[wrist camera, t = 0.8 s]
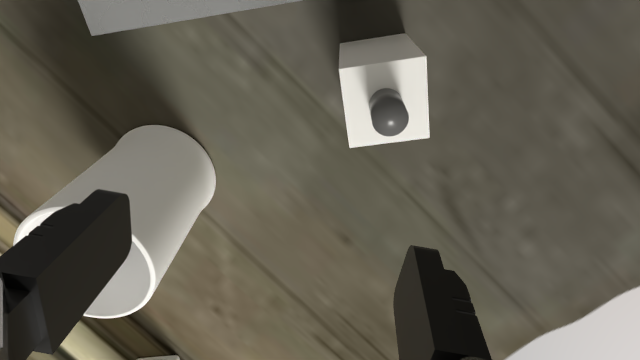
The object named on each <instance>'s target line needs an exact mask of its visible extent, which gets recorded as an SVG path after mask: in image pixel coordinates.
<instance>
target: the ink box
mask: <svg viewBox="0 0 640 360" xmlns="http://www.w3.org/2000/svg"><path fill="white" fill-rule="evenodd" d="M137 360H180V358H179V356H178V355H171V356H159V357H147V358H138V359H137Z"/></svg>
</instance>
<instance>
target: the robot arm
mask: <svg viewBox="0 0 640 360" xmlns="http://www.w3.org/2000/svg"><path fill="white" fill-rule="evenodd" d="M131 244H132V231H131V216H130V201H129V197H128V195H127V194H124V193H119V192H113V191H107V190H102V189H97V190H95V191H94V192H92V193H91V194H90V195H89V196H88V197H87V198H86V199H84V200H83V201H82V202H81V203H80V204H77V203H73V204H71V205H69V206H66V207H64V208H62V209H60V210H57V211H55V212H54V213H52V214H51V215H50V216H49V217H48V218H46V219H45V220H44V221H43V222H42V223H41V224H40V226H37V227H36V228H34V229H33V230H32V231H31V232H29V235H28V236H25V237H23V238H22V239H21V240H20V241H19V242H17V243H16V244H15V245H14V246H13V247H11V248H10V249H9V250H8V251H7V252H5V253H4V254H3V255H2V256H0V360H26V359H27V357H28V356H29V355H30V354H31V353H32V351H35V352H41V353H47V354H52V355H53V353H54V352H55V351H56V349H57V348H58V347H59V346H60V344H61V343H62V342H63V340H64V339H65V338H66V336H67V335H68V334H69V333H70V331H71V330H72V329H73V327H74V326H75V325H76V324H77V322H78V321H79V320H80V318H81V317H82V316H83V314H84V313H85V312H86V311H87V309H88V308H89V307H90V305H91V304H92V303H93V302H94V300H95V299H96V298H97V296H98V295H99V294H100V292H101V291H102V290H103V289H104V287H105V286H106V285H107V283H108V282H109V281H110V280H111V278H112V277H113V276H114V274H115V273H116V272H117V270H118V269H119V268H120V267H121V265H122V264H123V263H124V261H125V260H126V258H127V257H128V254H129V252H130V249H131ZM394 316H395V325H396V334H397V343H398V352H399V360H492V359H491V356H490V353H489V350H488V347H487V344H486V342H485V339H484V336H483V333H482V330H481V327H480V324H479V321H478V318H477V316H475V310H474V307H473V304H472V303H471V298H470V295H469V292H468V289H467V287H466V285H465V283H464V282H463V281H462V280H461V279H460V277H459V276H458V275H457V274H456V273H455V271H451V270H445V269H444V267H443V264H442V261H441V257H440V254H439V251H438V250H435V249H430V248H424V247H418V246H413V245H411V246H410V247H409V249H408V251H407V254H406V257H405V260H404V263H403V266H402V269H401V272H400V275H399V278H398V281H397V285H396V288H395V293H394Z"/></svg>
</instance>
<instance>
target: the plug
mask: <svg viewBox="0 0 640 360" xmlns="http://www.w3.org/2000/svg"><path fill="white" fill-rule="evenodd" d="M339 74H340V82H341V89H342V96H343V104H344V111H345V118H346V126H347V133H348V141H349V148H353V147H361V146H368V145H376V144H384V143H392V142H400V141H408V140H416V139H424V138H430V136H429V111H428V87H427V62H426V55H425V54H424V53H423V52H422V51H421V50H420V49H419V48H418V47H417V45H416V44H415V43H414V42H413V41H412V40H411V39H410V38H409V37H408V36H407V35H406V34H405V33H404V34H397V35H391V36H384V37H378V38H371V39H365V40H359V41H352V42H346V43H340V50H339Z"/></svg>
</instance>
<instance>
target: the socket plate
mask: <svg viewBox="0 0 640 360" xmlns="http://www.w3.org/2000/svg"><path fill="white" fill-rule="evenodd" d="M295 1H301V0H78V2H79V5H80V7H81V10H82V13H83V15H84V18H85V20H86V23H87V25H88V28H89V30H90V33H91V36H95V35H101V34H107V33H112V32H118V31H124V30H130V29H136V28H142V27H148V26H154V25H160V24H166V23H171V22H177V21H183V20H189V19H195V18H201V17H207V16H213V15H219V14H225V13H231V12H236V11H242V10H248V9H254V8H260V7H266V6H272V5H278V4H284V3H290V2H295Z"/></svg>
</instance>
